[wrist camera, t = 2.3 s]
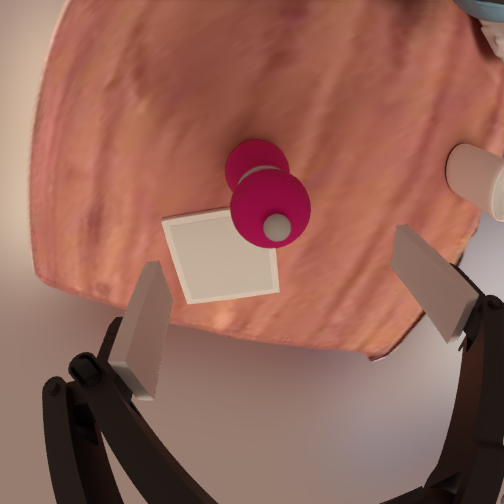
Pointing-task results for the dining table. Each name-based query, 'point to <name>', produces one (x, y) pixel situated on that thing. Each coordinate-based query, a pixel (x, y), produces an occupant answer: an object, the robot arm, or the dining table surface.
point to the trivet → (218, 258)
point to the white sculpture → (494, 37)
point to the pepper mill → (265, 195)
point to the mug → (478, 178)
